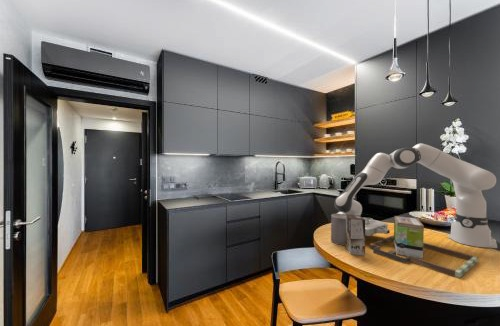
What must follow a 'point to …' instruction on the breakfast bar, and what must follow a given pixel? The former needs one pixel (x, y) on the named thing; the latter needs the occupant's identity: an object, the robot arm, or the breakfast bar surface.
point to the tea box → (408, 236)
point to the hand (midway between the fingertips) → (388, 232)
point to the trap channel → (455, 273)
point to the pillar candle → (338, 229)
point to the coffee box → (355, 234)
